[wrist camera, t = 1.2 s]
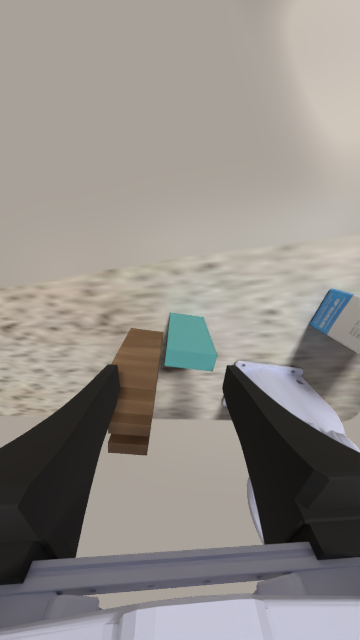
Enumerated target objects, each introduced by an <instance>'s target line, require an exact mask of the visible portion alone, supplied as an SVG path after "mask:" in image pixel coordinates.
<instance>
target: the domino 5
mask: <svg viewBox="0 0 360 640" xmlns="http://www.w3.org/2000/svg"><path fill="white" fill-rule="evenodd" d="M216 358H217V353H216V350H215V348H214V345H213V342H212V339H211V337H210V334H209V331H208V328H207V326H206V323H205V320H204V318H203V317H198V316H191V315H183V314H176V313H170V319H169V327H168V336H167V346H166V356H165V365H164V366H171V367H179V368H188V369H197V370H205V371H213V369H214V365H215V361H216Z"/></svg>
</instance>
